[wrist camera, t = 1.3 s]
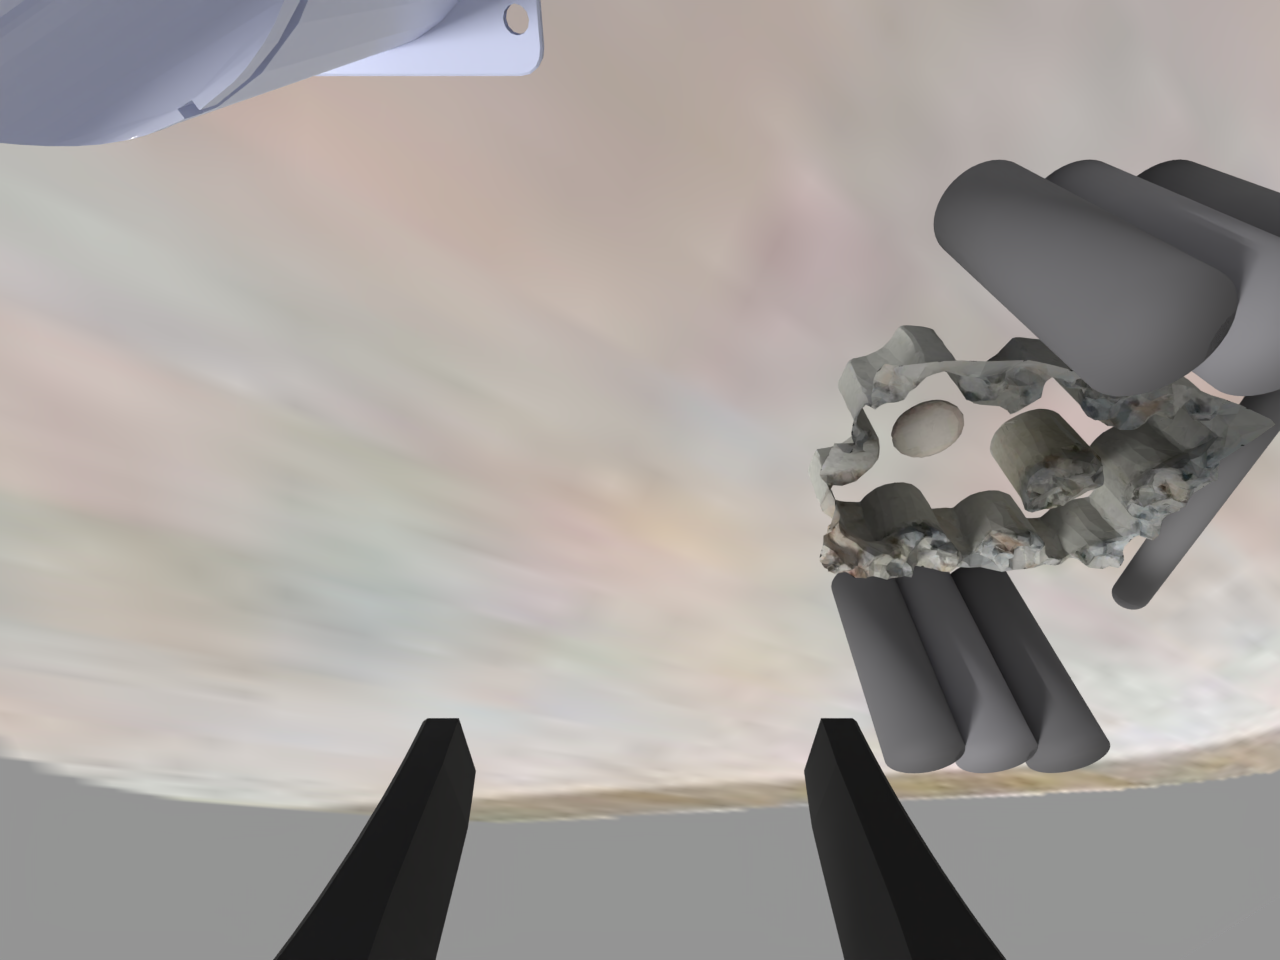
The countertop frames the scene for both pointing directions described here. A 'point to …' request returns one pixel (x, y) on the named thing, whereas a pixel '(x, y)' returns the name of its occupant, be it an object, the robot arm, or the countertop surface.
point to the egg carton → (1017, 463)
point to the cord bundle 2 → (1128, 268)
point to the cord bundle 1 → (963, 675)
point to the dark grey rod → (1193, 515)
